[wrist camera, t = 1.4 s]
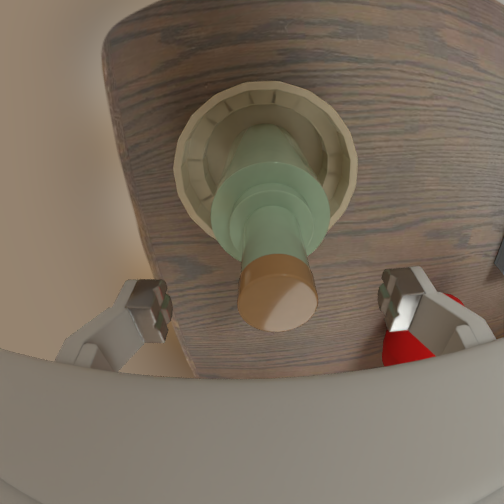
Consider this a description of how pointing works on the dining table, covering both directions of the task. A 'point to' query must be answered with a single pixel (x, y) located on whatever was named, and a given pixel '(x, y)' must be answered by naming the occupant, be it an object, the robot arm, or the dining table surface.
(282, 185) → the bottle
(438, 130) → the dining table surface
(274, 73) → the dining table surface
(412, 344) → the tomato
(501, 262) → the tray
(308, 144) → the bowl
